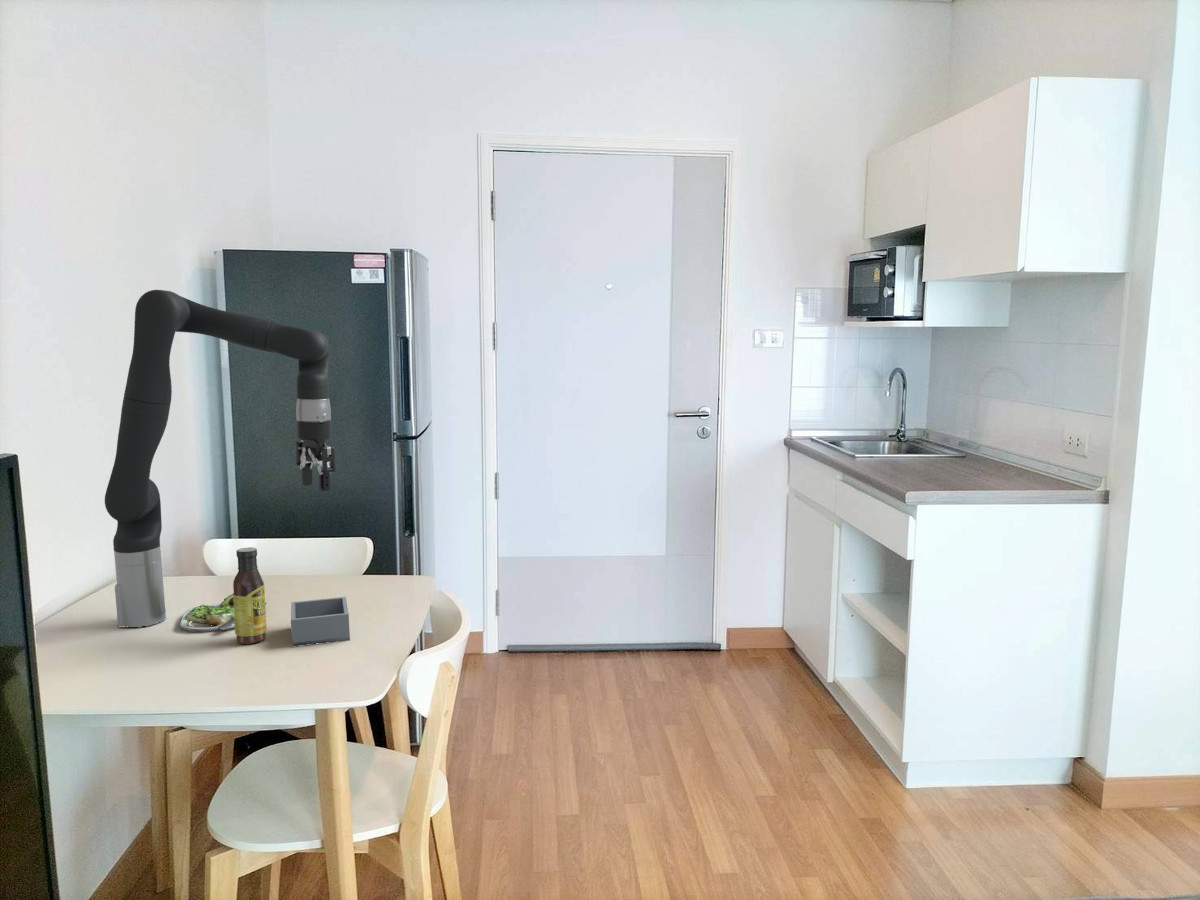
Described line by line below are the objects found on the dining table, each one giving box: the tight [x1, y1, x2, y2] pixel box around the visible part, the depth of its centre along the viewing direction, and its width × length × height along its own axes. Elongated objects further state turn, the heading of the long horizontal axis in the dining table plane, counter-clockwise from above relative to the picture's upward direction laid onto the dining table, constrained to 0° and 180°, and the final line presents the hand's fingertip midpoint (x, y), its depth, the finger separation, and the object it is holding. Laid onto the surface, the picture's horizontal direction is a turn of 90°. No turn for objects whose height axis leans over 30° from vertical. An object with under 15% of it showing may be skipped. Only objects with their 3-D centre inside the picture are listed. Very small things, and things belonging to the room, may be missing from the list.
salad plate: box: [179, 593, 267, 633], centre depth 196 cm, size 19×18×5 cm
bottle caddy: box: [290, 596, 351, 647], centre depth 187 cm, size 12×13×6 cm
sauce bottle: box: [232, 547, 268, 645], centre depth 183 cm, size 7×6×20 cm
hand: (315, 487), depth 200 cm, fingers open, 8 cm apart
